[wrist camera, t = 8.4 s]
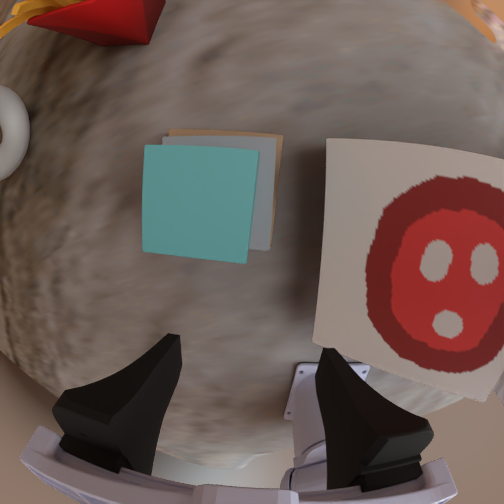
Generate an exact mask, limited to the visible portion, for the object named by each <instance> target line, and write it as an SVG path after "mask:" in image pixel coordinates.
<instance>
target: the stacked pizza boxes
mask: <svg viewBox="0 0 504 504" xmlns="http://www.w3.org/2000/svg"><path fill="white" fill-rule="evenodd" d="M312 342H313V343H315V344H317V345H320V346H322V347H325V348H335V349H336V350H337V351H338V352H339V354H342V355H344V356H347V357H349V358H352V359H355V360H357V361H360V362H362V363H365V364H368V365H370V366H373V367H376V368H378V369H381V370H384V371H386V372H389V373H392V374H395V375H398V376H401V377H403V378H406V379H409V380H412V381H415V382H418V383H421V384H424V385H427V386H430V387H433V388H436V389H440V390H443V391H446V392H449V393H453V394H456V395H459V396H463V397H466V398H470V399H473V400H477V401H481V402H485V400H486V399H487V397H488V396H489V394H490V392H491V391H492V389H493V390H494V392H495V393H496V395H497V396H498V397H499V399H500V400H501V402H502V403H503V404H504V159H500V158H496V157H491V156H487V155H482V154H477V153H472V152H467V151H462V150H456V149H450V148H444V147H437V146H430V145H423V144H414V143H405V142H394V141H382V140H367V139H342V138H326V188H325V211H324V229H323V244H322V257H321V268H320V279H319V289H318V298H317V307H316V316H315V324H314V331H313V339H312Z"/></svg>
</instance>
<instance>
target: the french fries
mask: <svg viewBox="0 0 504 504" xmlns="http://www.w3.org/2000/svg"><path fill="white" fill-rule="evenodd" d="M165 3H166V1H165V0H26V1H23V2H20V3H18V4H15V6H14V8H13V11H12V13H11V14H12V15H17V16H15V17H14V18H12V19H10V20H9V21H7V22H6V23H4V24H3V25H2V26H0V39H1V38H2V37H3V36H4V35H5V34H7V33H8V32H9V31H11V30H12V29H13V28H15V27H16V26H18V25H19V24H21V23H23V22H24V21H26V20H28V21H27V24H28V25H33V26H37V27H42V28H46V29H50V30H53V31H57V32H61V33H64V34H68V35H71V36H74V37H77V38H80V39H83V40H86V41H89V42H92V43H95V44H98V45H101V46H104V47H106V46H118V45H135V44H149V43H150V40H151V37H152V34H153V32H154V29H155V27H156V24H157V22H158V19H159V17H160V14H161V12H162V10H163V7H164V5H165ZM18 14H19V15H18Z"/></svg>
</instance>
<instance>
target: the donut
mask: <svg viewBox="0 0 504 504" xmlns="http://www.w3.org/2000/svg"><path fill="white" fill-rule="evenodd" d="M0 126H1V129H2V134H3V139H2V143H1V144H0V180H2V179H5V178H7V177H9V176H10V175H11V174H12V173H13V172H14V171H15V170H16V169H17V168H18V167H19V166H20V164H21V162H22V160H23V158H24V156H25V155H26V152H27V148H28V144H29V141H30V123H29V117H28V113H27V110H26V108H25V105H24V103H23V102H22V100H21V99H20V97H19V96H18V95H17V94H16V93H15V92H14V91H12V90H11V89H10V88H8V87H5V86H1V85H0Z"/></svg>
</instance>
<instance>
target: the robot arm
mask: <svg viewBox="0 0 504 504" xmlns="http://www.w3.org/2000/svg"><path fill="white" fill-rule="evenodd" d="M181 368H182V356H181V344H180V335H176V334H170V333H168V334H167V335H166V336H165V337H163V338H162V339H161V340H160V341H159V342H158V343H157V344H156V345H154V346H153V347H152V348H151V349H150V350H148V351H147V352H146V353H145V354H144V355H142V356H141V357H140V358H138V359H137V360H136V361H134V362H133V363H132V364H130V365H129V366H127V367H125V368H124V369H122V370H120V371H119V372H117V373H115V374H113V375H111V376H109V377H106V378H104V379H102V380H100V381H97V382H94V383H91V384H88V385H85V386H82V387H77V388H73V389H68V390H65V391H64V392H63V394H62V395H61V396H60V398H59V399H58V401H57V402H56V404H55V405H54V407H53V409H52V412H53V415H54V417H55V419H56V421H57V422H58V424H59V425H60V427H61V428H62V430H63V431H64V433H65V434H64V436H63V437H61V436H59V435H58V434H57V433H55V432H53V431H51V430H49V429H47V428H46V427H44V426H42V425H39V426H38V428H37V429H36V431H35V432H34V434H33V436H32V437H31V439H30V440H29V442H28V444H27V445H26V447H25V449H24V450H23V452H22V453H21V455H20V457H19V460H20V461H21V462H22V463H23V464H24V465H25V466H26V467H27V468H28V469H30V471H32V472H33V473H34V474H35V475H36V476H37V477H38V478H39V479H40V480H41V481H43V482H44V483H45V484H47V485H49V486H51V487H52V488H54V489H56V490H57V491H59V492H61V493H63V494H64V495H66V496H68V497H70V498H72V499H74V500H75V501H77V502H79V503H81V504H444V503H445V502H447V501H448V500H450V499H451V498H453V497H454V496H455V495H457V493H458V491H457V489H456V486H455V484H454V481H453V478H452V476H451V474H450V471H449V469H448V466H447V464H446V461H445V459H444V458H440V459H437V460H434V461H431V462H428V463H426V464H424V465H422V466H420V463H419V461H421V459H422V458H421V455H420V453H421V452H422V451H423V450H424V449H425V448H426V447H427V446H428V444H429V443H430V442H431V441H432V439H433V436H434V432H433V430H432V428H431V426H430V424H429V422H428V420H427V419H425V418H422V417H419V416H417V415H414V414H412V413H410V412H408V411H406V410H404V409H402V408H400V407H398V406H397V405H395V404H393V403H392V402H390V401H389V400H387V399H386V398H384V397H383V396H381V395H380V394H379V393H378V392H376V391H375V390H374V389H373V388H371V387H370V386H369V385H368V384H367V383H366V382H365V381H364V380H365V378H366V376H367V374H368V371H369V369H370V365H368V364H365V363H353V364H348V363H347V362H346V361H345V359H344V358H343V357H342V356H341V355H340V354H339V352H338V351H337V350H336V349H335V348H323V351H322V354H321V357H320V361H319V364H314V363H301V364H299V365H297V368H296V372H295V376H294V380H293V384H292V387H291V391H290V395H289V398H288V402H287V406H286V409H285V413H284V419H285V420H292V427H293V439H294V452H295V457H294V468H290V469H288V470H287V471H286V472H285V474H284V477H283V478H282V480H281V484H280V489H278V488H276V489H275V488H274V489H273V488H272V489H271V488H248V487H247V488H246V487H235V486H234V487H233V486H223V485H213V484H204V485H198V486H195V485H190V484H184V483H179V482H174V481H170V480H165V479H161V478H157V477H153V476H151V473H152V467H153V461H154V456H155V450H156V446H157V441H158V437H159V433H160V429H161V425H162V421H163V418H164V415H165V412H166V410H167V407H168V405H169V402H170V400H171V397H172V395H173V392H174V390H175V387H176V385H177V382H178V379H179V376H180V372H181ZM364 370H365V371H364ZM299 371H302V372H299Z"/></svg>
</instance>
